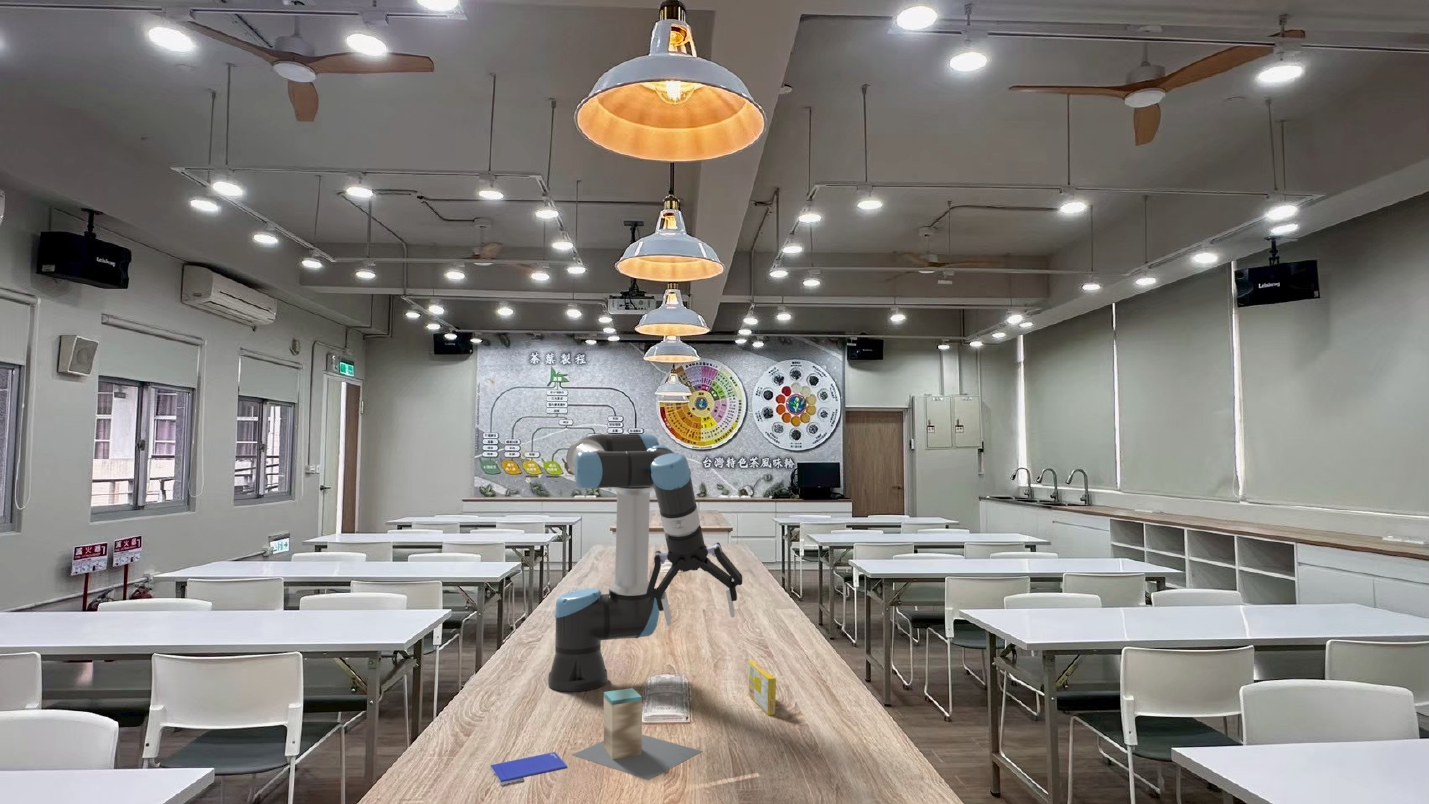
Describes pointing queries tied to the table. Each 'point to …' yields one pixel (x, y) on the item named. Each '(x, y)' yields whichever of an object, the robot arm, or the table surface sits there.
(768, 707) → the candy box
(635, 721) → the maple block
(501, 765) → the hard drive
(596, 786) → the table surface
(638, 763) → the slate mat
